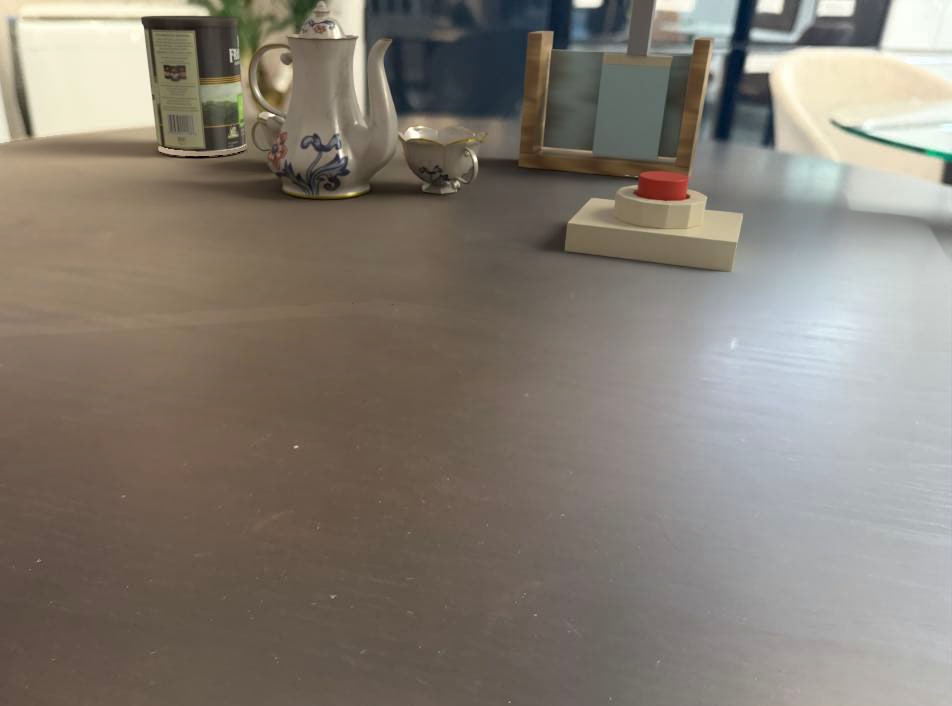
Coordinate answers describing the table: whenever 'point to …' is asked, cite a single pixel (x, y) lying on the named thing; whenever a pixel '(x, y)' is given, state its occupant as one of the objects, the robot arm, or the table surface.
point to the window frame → (575, 109)
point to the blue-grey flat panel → (633, 93)
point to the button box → (656, 230)
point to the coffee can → (195, 82)
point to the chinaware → (348, 122)
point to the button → (662, 186)
